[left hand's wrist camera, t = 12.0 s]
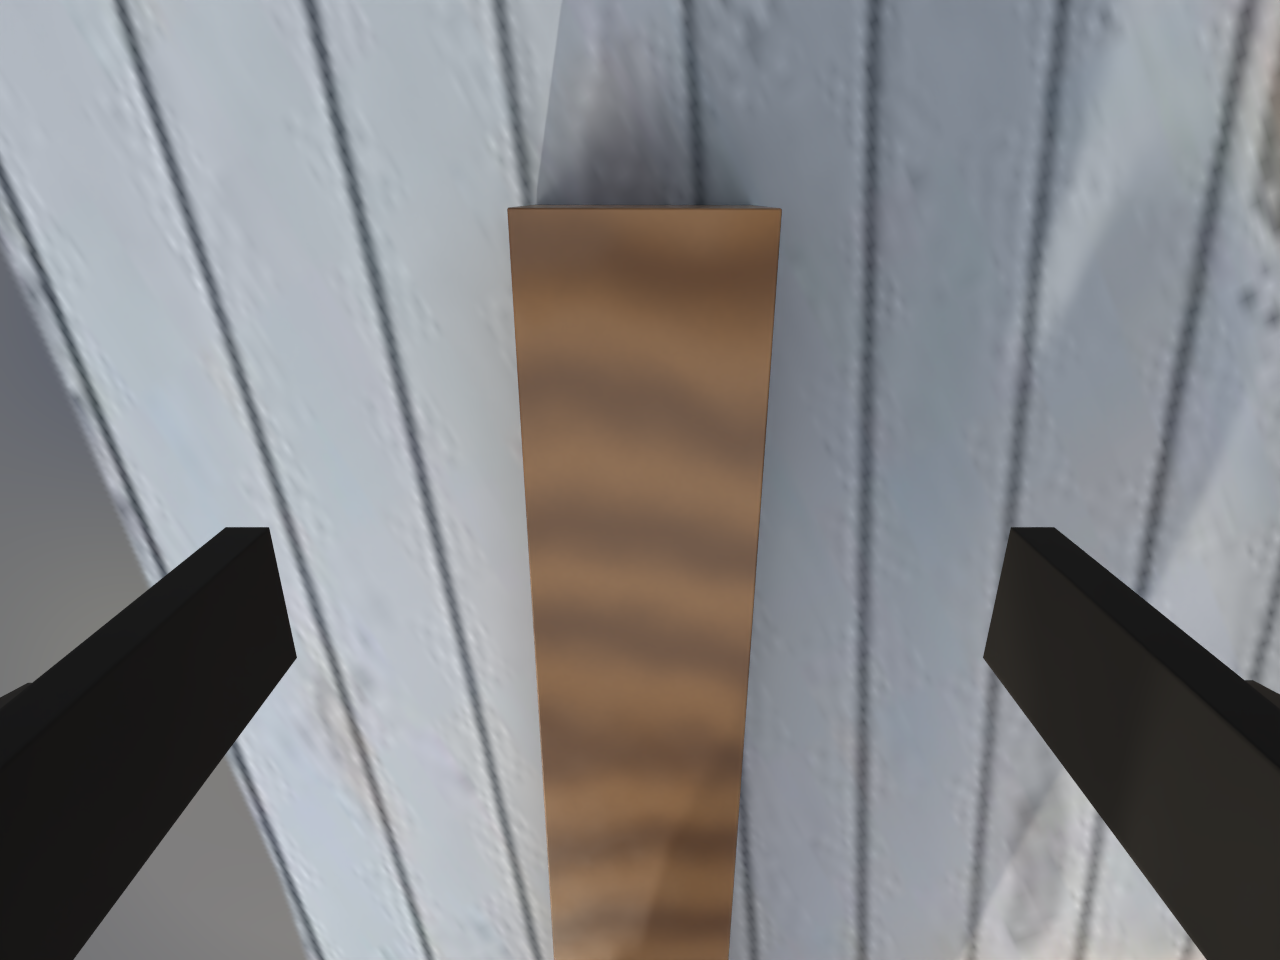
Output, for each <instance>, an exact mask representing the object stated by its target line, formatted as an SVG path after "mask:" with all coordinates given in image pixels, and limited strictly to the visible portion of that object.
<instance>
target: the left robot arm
mask: <svg viewBox="0 0 1280 960" xmlns="http://www.w3.org/2000/svg"><path fill="white" fill-rule="evenodd" d="M296 658H297V656H296V651H295V647H294V642H293V637H292V633H291V628H290V623H289V619H288V614H287V609H286V605H285V600H284V595H283V590H282V586H281V581H280V576H279V572H278V567H277V562H276V558H275V553H274V548H273V544H272V539H271V534H270V530H269V527H226V528H224V529H223V530H222V531H221V532H219V533H218V534H217V535H216V536H214V537H213V538H212V539H211V540H209V541H208V542H207V543H206V544H204V545H203V546H202V547H201V548H199V549H198V550H197V551H196V552H195V553H193V554H192V555H191V556H190V557H188V558H187V559H186V560H185V561H183V562H182V563H181V564H180V565H178V566H177V567H176V568H175V569H173V570H172V571H171V572H170V573H168V574H167V575H166V576H165V577H163V578H162V579H161V580H160V581H158V582H157V583H156V584H155V585H153V586H152V587H151V588H150V589H149V590H147V591H146V592H145V593H144V594H142V595H141V596H140V597H139V598H137V599H136V600H135V601H134V602H132V603H131V604H130V605H129V606H127V607H126V608H125V609H124V610H122V611H121V612H120V613H119V614H118V615H116V616H115V617H114V618H112V619H111V620H110V621H109V622H108V623H106V624H105V625H104V626H103V627H101V628H100V629H99V630H98V631H96V632H95V633H94V634H93V635H91V636H90V637H89V638H88V639H86V640H85V641H84V642H83V643H81V644H80V645H79V646H78V647H76V648H75V649H74V650H73V651H71V652H70V653H69V654H68V655H66V656H65V657H64V658H63V659H62V660H60V661H59V662H58V663H57V664H55V665H54V666H53V667H52V668H50V669H49V670H48V671H47V672H45V673H44V674H43V675H42V676H40V677H39V678H38V679H37V680H35V681H34V682H33V683H27V684H25V685H23V686H21V687H19V688H17V689H16V690H14V691H12V692H10V693H8V694H6V695H4V696H2V697H0V960H73V959H74V958H75V957H76V955H77V954H78V953H79V951H80V950H81V948H82V947H83V946H84V945H85V943H86V942H87V940H88V939H89V938H90V936H91V935H92V934H93V932H94V931H95V930H96V928H97V927H98V926H99V924H100V923H101V922H102V920H103V919H104V917H105V916H106V915H107V913H108V912H109V911H110V909H111V908H112V907H113V905H114V904H115V903H116V901H117V900H118V899H119V897H120V896H121V895H122V893H123V892H124V890H125V889H126V888H127V886H128V885H129V884H130V882H131V881H132V880H133V878H134V877H135V876H136V874H137V873H138V872H139V870H140V869H141V868H142V866H143V865H144V863H145V862H146V861H147V859H148V858H149V857H150V855H151V854H152V853H153V851H154V850H155V849H156V847H157V846H158V845H159V843H160V842H161V840H162V839H163V838H164V836H165V835H166V834H167V832H168V831H169V830H170V828H171V827H172V826H173V824H174V823H175V822H176V820H177V819H178V818H179V816H180V815H181V813H182V812H183V811H184V809H185V808H186V807H187V805H188V804H189V803H190V801H191V800H192V799H193V797H194V796H195V795H196V793H197V792H198V791H199V789H200V788H201V786H202V785H203V784H204V782H205V781H206V780H207V778H208V777H209V776H210V774H211V773H212V772H213V770H214V769H215V768H216V766H217V765H218V764H219V762H220V761H221V759H222V758H223V757H224V755H225V754H226V753H227V751H228V750H229V749H230V747H231V746H232V745H233V743H234V742H235V741H236V739H237V738H238V736H239V735H240V734H241V732H242V731H243V730H244V728H245V727H246V726H247V724H248V723H249V722H250V720H251V719H252V718H253V716H254V715H255V714H256V712H257V711H258V709H259V708H260V707H261V705H262V704H263V703H264V701H265V700H266V699H267V697H268V696H269V695H270V693H271V692H272V691H273V689H274V688H275V687H276V685H277V684H278V682H279V681H280V680H281V678H282V677H283V676H284V674H285V673H286V672H287V670H288V669H289V668H290V666H291V665H292V664H293V662H294V661H295V659H296ZM983 658H984V659H985V661H986V662H987V664H988V665H989V666H990V668H991V669H992V670H993V672H994V673H995V674H996V676H997V677H998V678H999V680H1000V681H1001V682H1002V684H1003V685H1004V687H1005V688H1006V689H1007V691H1008V692H1009V693H1010V695H1011V696H1012V697H1013V699H1014V700H1015V701H1016V703H1017V704H1018V705H1019V707H1020V708H1021V709H1022V711H1023V712H1024V714H1025V715H1026V716H1027V718H1028V719H1029V720H1030V722H1031V723H1032V724H1033V726H1034V727H1035V728H1036V730H1037V731H1038V732H1039V734H1040V735H1041V736H1042V738H1043V739H1044V741H1045V742H1046V743H1047V745H1048V746H1049V747H1050V749H1051V750H1052V751H1053V753H1054V754H1055V755H1056V757H1057V758H1058V759H1059V761H1060V762H1061V764H1062V765H1063V766H1064V768H1065V769H1066V770H1067V772H1068V773H1069V774H1070V776H1071V777H1072V778H1073V780H1074V781H1075V782H1076V784H1077V785H1078V786H1079V788H1080V789H1081V791H1082V792H1083V793H1084V795H1085V796H1086V797H1087V799H1088V800H1089V801H1090V803H1091V804H1092V805H1093V807H1094V808H1095V809H1096V811H1097V812H1098V813H1099V815H1100V816H1101V818H1102V819H1103V820H1104V822H1105V823H1106V824H1107V826H1108V827H1109V828H1110V830H1111V831H1112V832H1113V834H1114V835H1115V836H1116V838H1117V839H1118V841H1119V842H1120V843H1121V845H1122V846H1123V847H1124V849H1125V850H1126V851H1127V853H1128V854H1129V855H1130V857H1131V858H1132V859H1133V861H1134V862H1135V863H1136V865H1137V866H1138V868H1139V869H1140V870H1141V872H1142V873H1143V874H1144V876H1145V877H1146V878H1147V880H1148V881H1149V882H1150V884H1151V885H1152V886H1153V888H1154V889H1155V890H1156V892H1157V893H1158V895H1159V896H1160V897H1161V899H1162V900H1163V901H1164V903H1165V904H1166V905H1167V907H1168V908H1169V909H1170V911H1171V912H1172V913H1173V915H1174V916H1175V918H1176V919H1177V920H1178V922H1179V923H1180V924H1181V926H1182V927H1183V928H1184V930H1185V931H1186V932H1187V934H1188V935H1189V936H1190V938H1191V939H1192V940H1193V942H1194V943H1195V945H1196V946H1197V947H1198V949H1199V950H1200V951H1201V953H1202V954H1203V955H1204V957H1205V958H1206V959H1207V960H1280V694H1278V693H1276V692H1274V691H1272V690H1270V689H1268V688H1266V687H1265V686H1263V685H1261V684H1259V683H1257V682H1255V681H1253V680H1243V679H1242V678H1241V677H1240V676H1238V675H1237V674H1236V673H1235V672H1233V671H1232V670H1231V669H1230V668H1228V667H1227V666H1226V665H1225V664H1223V663H1222V662H1221V661H1220V660H1218V659H1217V658H1216V657H1215V656H1214V655H1212V654H1211V653H1210V652H1209V651H1207V650H1206V649H1205V648H1204V647H1202V646H1201V645H1200V644H1199V643H1197V642H1196V641H1195V640H1194V639H1192V638H1191V637H1190V636H1189V635H1187V634H1186V633H1185V632H1184V631H1182V630H1181V629H1180V628H1179V627H1177V626H1176V625H1175V624H1174V623H1172V622H1171V621H1170V620H1169V619H1168V618H1166V617H1165V616H1164V615H1163V614H1161V613H1160V612H1159V611H1158V610H1156V609H1155V608H1154V607H1153V606H1151V605H1150V604H1149V603H1148V602H1146V601H1145V600H1144V599H1143V598H1141V597H1140V596H1139V595H1138V594H1136V593H1135V592H1134V591H1133V590H1131V589H1130V588H1129V587H1128V586H1126V585H1125V584H1124V583H1123V582H1122V581H1120V580H1119V579H1118V578H1117V577H1115V576H1114V575H1113V574H1112V573H1110V572H1109V571H1108V570H1107V569H1105V568H1104V567H1103V566H1102V565H1100V564H1099V563H1098V562H1097V561H1095V560H1094V559H1093V558H1092V557H1090V556H1089V555H1088V554H1087V553H1085V552H1084V551H1083V550H1082V549H1081V548H1079V547H1078V546H1077V545H1076V544H1074V543H1073V542H1072V541H1071V540H1069V539H1068V538H1067V537H1066V536H1064V535H1063V534H1062V533H1061V532H1059V531H1058V530H1057V529H1056V528H1054V527H1011V530H1010V534H1009V539H1008V544H1007V548H1006V553H1005V558H1004V562H1003V567H1002V572H1001V576H1000V581H999V586H998V590H997V595H996V600H995V605H994V609H993V614H992V619H991V623H990V628H989V633H988V637H987V642H986V647H985V651H984V656H983Z"/></svg>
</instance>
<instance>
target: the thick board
mask: <svg viewBox="0 0 1280 960" xmlns="http://www.w3.org/2000/svg"><path fill="white" fill-rule="evenodd" d="M507 210H508V226H509V242H510V258H511V275H512V291H513V307H514V323H515V339H516V355H517V371H518V387H519V403H520V419H521V435H522V451H523V467H524V483H525V499H526V516H527V532H528V548H529V564H530V580H531V596H532V612H533V628H534V644H535V660H536V676H537V692H538V708H539V724H540V740H541V756H542V773H543V789H544V805H545V821H546V837H547V853H548V869H549V885H550V901H551V917H552V933H553V949H554V960H728V957H729V943H730V929H731V915H732V901H733V887H734V873H735V859H736V845H737V831H738V817H739V803H740V789H741V775H742V761H743V747H744V733H745V719H746V705H747V691H748V677H749V663H750V649H751V635H752V621H753V607H754V593H755V579H756V565H757V551H758V537H759V523H760V508H761V494H762V480H763V466H764V452H765V438H766V424H767V410H768V396H769V382H770V368H771V354H772V340H773V326H774V312H775V298H776V284H777V270H778V256H779V242H780V228H781V214H782V209H781V208H773V207H763V206H753V205H529V206H519V207H510V208H508V209H507Z"/></svg>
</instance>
